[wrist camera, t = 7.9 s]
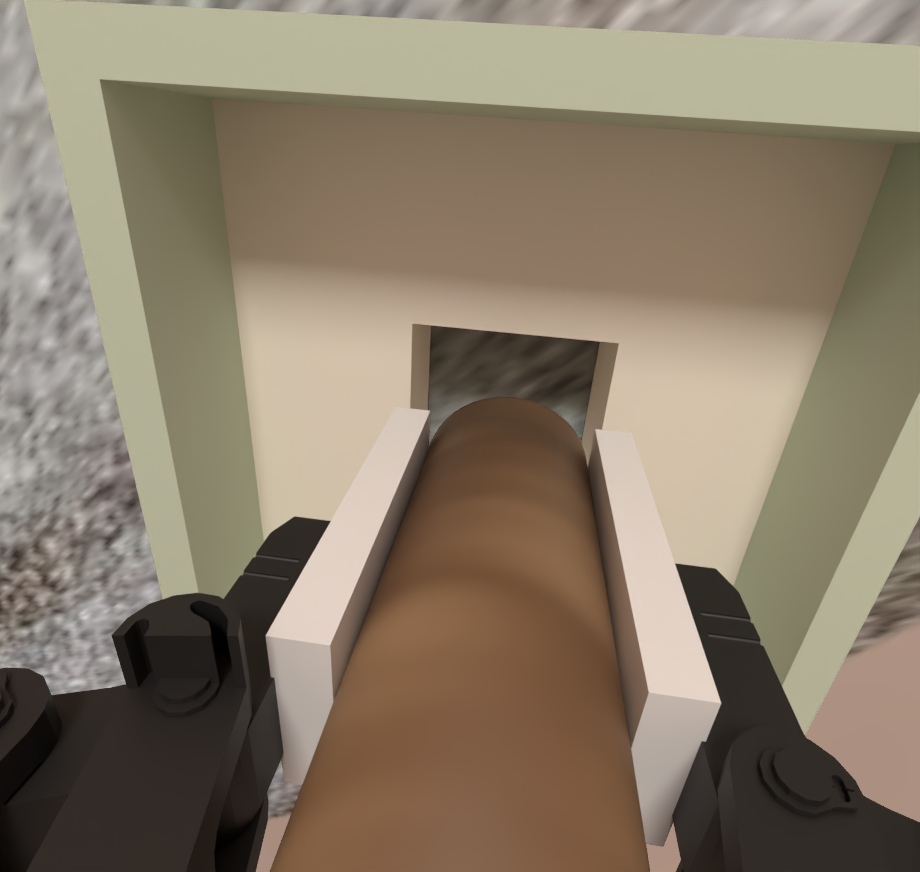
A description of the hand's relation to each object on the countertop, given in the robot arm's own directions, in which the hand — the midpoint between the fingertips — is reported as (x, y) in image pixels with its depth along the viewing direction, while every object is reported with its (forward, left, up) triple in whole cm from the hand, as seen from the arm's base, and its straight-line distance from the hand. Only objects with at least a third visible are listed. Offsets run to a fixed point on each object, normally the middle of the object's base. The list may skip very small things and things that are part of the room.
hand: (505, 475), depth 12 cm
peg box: (0, 0, -5) cm, 5 cm away
